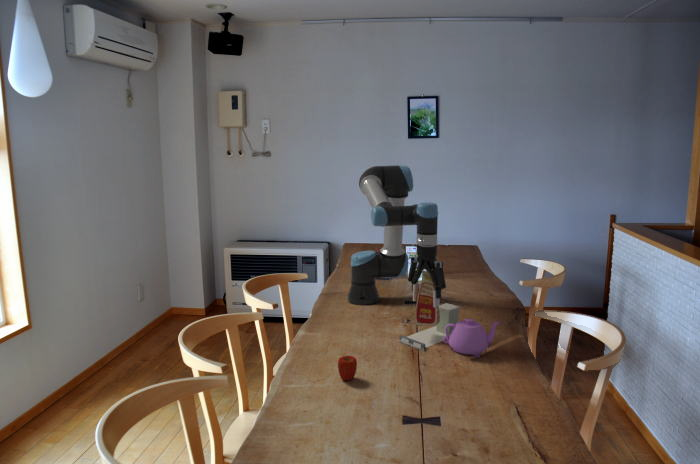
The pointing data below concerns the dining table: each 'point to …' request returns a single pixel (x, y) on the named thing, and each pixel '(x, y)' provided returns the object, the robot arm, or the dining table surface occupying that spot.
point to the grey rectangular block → (447, 317)
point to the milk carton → (426, 303)
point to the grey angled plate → (423, 338)
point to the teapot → (469, 337)
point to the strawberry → (347, 367)
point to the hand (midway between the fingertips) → (425, 303)
